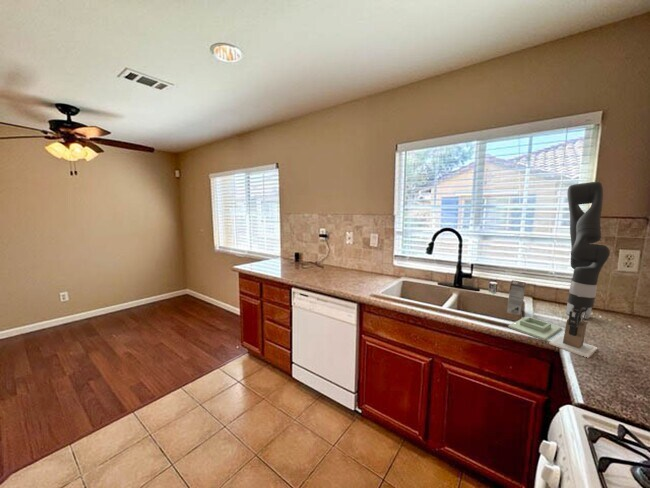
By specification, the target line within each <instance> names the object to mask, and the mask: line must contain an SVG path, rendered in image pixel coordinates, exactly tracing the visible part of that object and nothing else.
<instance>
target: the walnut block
mask: <svg viewBox="0 0 650 488" xmlns="http://www.w3.org/2000/svg"><path fill="white" fill-rule="evenodd" d="M568 322H569V318H568V319H567V320H566V323H565V329H564V333H563V336H564V339H563V343H564V344H567V345H570V346H573V347H576V348H578V349H579V348H580V347H582V346H583V343H585V342H584V341H585V337H586V330H587V327H588V326H587V325H588V322H587V321H586V320H585V321H582V322H580V323H579V327H578V330H577V335H576V336H573V335H570V334H569V329H570V325H568ZM572 323H575V321H573V322H572Z"/></svg>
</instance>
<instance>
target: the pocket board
mask: <svg viewBox="0 0 650 488" xmlns="http://www.w3.org/2000/svg"><path fill="white" fill-rule="evenodd" d="M514 323H516V324H514ZM507 328H508V329H512V330H515V331H517V332H520V333H522V334H525V335H529V336H530V337H534V338H537V339H539V340H543V341H546V340H548V339H549V338H551V337H552V336H554V335H555V334H556V333H558V332H559V331H561V330H562V329H563V328H562V326H559V325H557V324H554V323H550V322H546V321H544V320H540V319H537V318H534V317H531V316H528V315H526V316H523V317H522V318H519V320H515V321H514V322H512V323H510V324H508V326H507Z"/></svg>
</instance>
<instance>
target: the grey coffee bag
mask: <svg viewBox="0 0 650 488" xmlns="http://www.w3.org/2000/svg"><path fill="white" fill-rule="evenodd" d="M509 285H510V286H509V294H508V300H507V307H506V308H507V309H506V313H508V314H512V315H516V316H522V312H523V305H524V298H525V293H526V282H523V281H521V280H520V281H519V280H513V279H511V282H510V284H509Z"/></svg>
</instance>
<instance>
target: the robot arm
mask: <svg viewBox="0 0 650 488" xmlns="http://www.w3.org/2000/svg"><path fill="white" fill-rule="evenodd" d="M566 194H567V203H568V209H569V234H570V236H569V237H570V243H571V247H570V250H571V251H570V267H571V269H573V273H572V277H571V280H570V281H571V282H570V286H569V291H568V298H567V304H566V311H565V314H566V315H568V319H569V322H568V325H570V329H569V334H570V335H573V336H576V335H577V330H578V327H579V323H580V322H582V321H585V322H586V321H587V319H590V318H591V313H592V309H593V308H594V305H595V301H596V295H597V291H598V290H597V287H598V285H597V284H598V280H599V275H600V273H601V270H602V269H603V267H604V265H605V264H606V262H607V261H608V259H609V257H610V255H611V253H610V249H609V247H608V246H606V245H604V244H597V243H598V242H599V241H601V238H602V231H601V230H602V229H601V218H602V217H601V215H602V211H603V210H602V209H603V199H604V189H603V185H602V183H601V182H600V181H590V182H582V183H576V184H571V185H569V186H568V187H567V192H566ZM586 204H587V205H588V204H590V207H589V208H588V209H587V210H586V211H584V210H582V208H581V206H580V205H586ZM595 243H596V244H595ZM573 321H575V323H572V322H573Z"/></svg>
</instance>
